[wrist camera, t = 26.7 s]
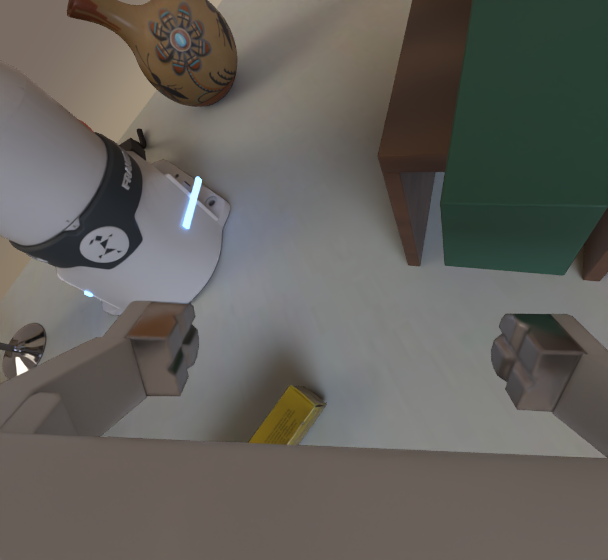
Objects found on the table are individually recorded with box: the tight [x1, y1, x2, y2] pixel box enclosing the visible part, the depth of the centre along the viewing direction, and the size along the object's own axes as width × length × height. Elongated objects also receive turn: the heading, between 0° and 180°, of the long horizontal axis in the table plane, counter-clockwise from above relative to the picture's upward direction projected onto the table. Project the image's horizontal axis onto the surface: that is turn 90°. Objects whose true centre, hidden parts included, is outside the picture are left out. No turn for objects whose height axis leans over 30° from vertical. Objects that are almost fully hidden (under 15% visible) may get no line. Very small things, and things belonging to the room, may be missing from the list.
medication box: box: [248, 385, 327, 445], centre depth 28 cm, size 12×3×4 cm, turn 141°
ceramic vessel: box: [67, 0, 237, 107], centre depth 41 cm, size 16×9×25 cm, turn 113°
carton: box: [440, 0, 608, 275], centre depth 16 cm, size 22×4×5 cm, turn 165°
